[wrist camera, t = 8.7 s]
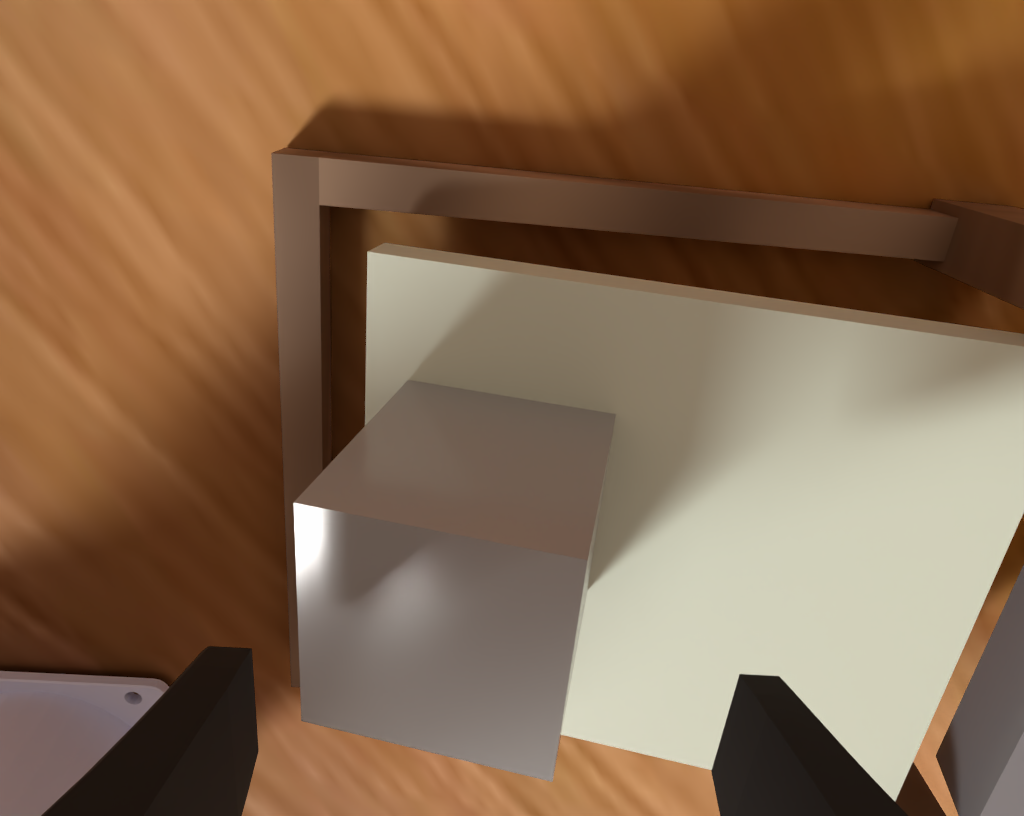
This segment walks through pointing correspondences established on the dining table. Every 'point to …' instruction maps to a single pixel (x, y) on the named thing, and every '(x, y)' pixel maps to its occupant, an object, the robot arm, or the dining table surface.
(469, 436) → the stone
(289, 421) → the frame
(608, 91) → the dining table surface
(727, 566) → the flap
